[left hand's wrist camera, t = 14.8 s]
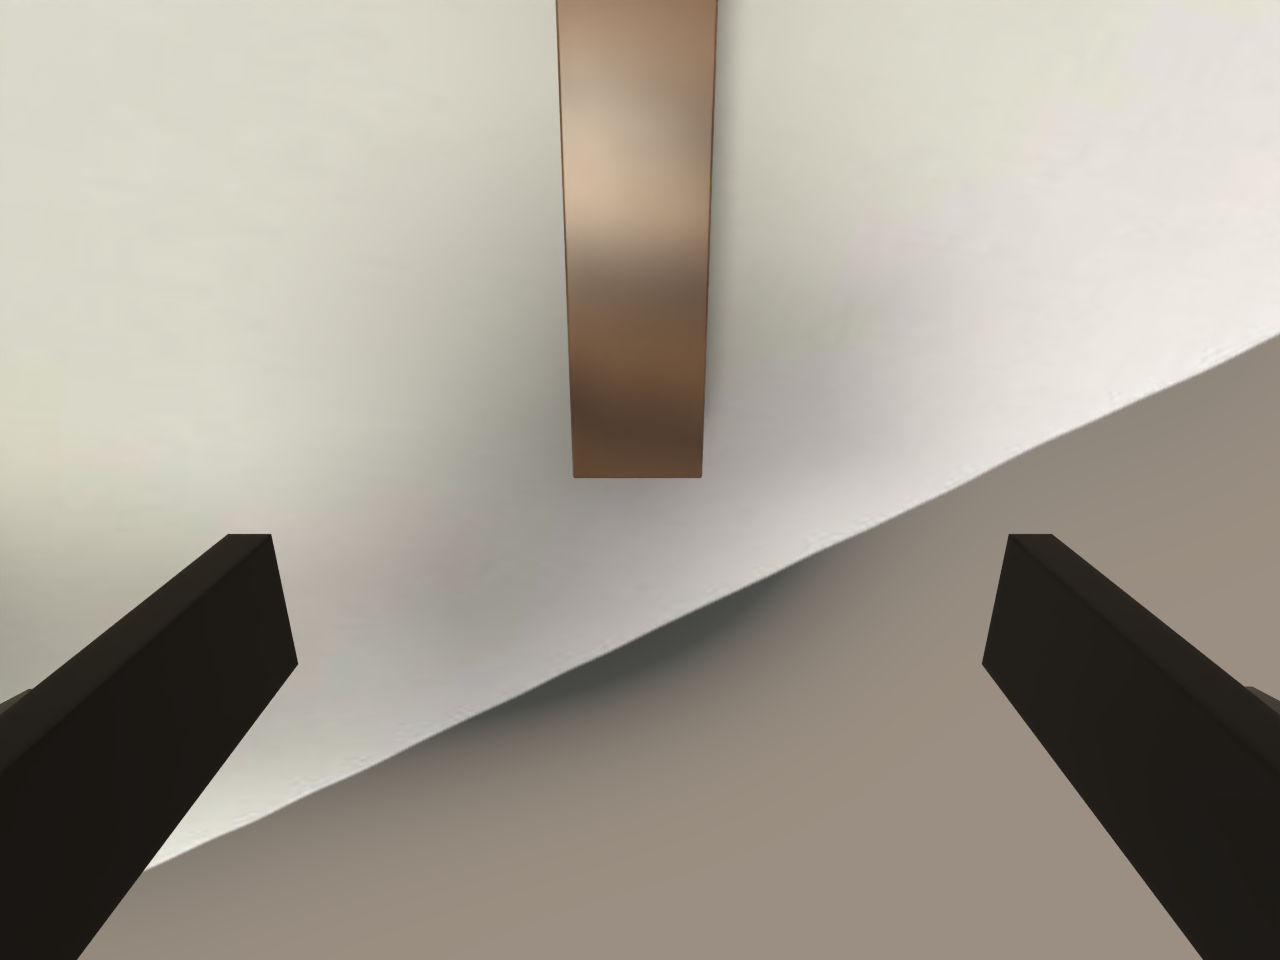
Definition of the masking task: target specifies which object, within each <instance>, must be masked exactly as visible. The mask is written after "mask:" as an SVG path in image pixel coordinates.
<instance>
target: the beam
mask: <svg viewBox="0 0 1280 960" xmlns="http://www.w3.org/2000/svg"><path fill="white" fill-rule="evenodd" d="M717 12H718V0H556V23H557V50H558V78H559V105H560V132H561V159H562V187H563V214H564V241H565V268H566V296H567V323H568V350H569V377H570V405H571V432H572V459H573V477H574V478H701V477H702V462H703V432H704V402H705V372H706V342H707V312H708V282H709V252H710V222H711V192H712V162H713V132H714V102H715V72H716V42H717Z"/></svg>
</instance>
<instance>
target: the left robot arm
mask: <svg viewBox="0 0 1280 960" xmlns="http://www.w3.org/2000/svg"><path fill="white" fill-rule="evenodd" d="M297 665H298V661H297V656H296V651H295V647H294V642H293V637H292V632H291V627H290V623H289V618H288V613H287V608H286V603H285V598H284V594H283V589H282V584H281V579H280V574H279V570H278V565H277V560H276V555H275V550H274V546H273V541H272V536H271V534H228V535H226V536H225V537H224V538H223V539H221V540H220V541H219V542H217V543H216V544H215V545H214V546H212V547H211V548H210V549H209V550H207V551H206V552H205V553H204V554H202V555H201V556H200V557H199V558H197V559H196V560H195V561H194V562H192V563H191V564H190V565H188V566H187V567H186V568H185V569H183V570H182V571H181V572H180V573H178V574H177V575H176V576H175V577H173V578H172V579H171V580H170V581H168V582H167V583H166V584H165V585H163V586H162V587H161V588H159V589H158V590H157V591H156V592H154V593H153V594H152V595H151V596H149V597H148V598H147V599H146V600H144V601H143V602H142V603H141V604H139V605H138V606H137V607H136V608H134V609H133V610H132V611H130V612H129V613H128V614H127V615H125V616H124V617H123V618H122V619H120V620H119V621H118V622H117V623H115V624H114V625H113V626H112V627H110V628H109V629H108V630H107V631H105V632H104V633H103V634H101V635H100V636H99V637H98V638H96V639H95V640H94V641H93V642H91V643H90V644H89V645H88V646H86V647H85V648H84V649H83V650H81V651H80V652H79V653H78V654H76V655H75V656H74V657H72V658H71V659H70V660H69V661H67V662H66V663H65V664H64V665H62V666H61V667H60V668H59V669H57V670H56V671H55V672H54V673H52V674H51V675H50V676H49V677H47V678H46V679H45V680H43V681H42V682H41V683H40V684H38V685H37V686H36V687H35V688H33V689H28V690H26V691H24V692H22V693H20V694H19V695H17V696H15V697H13V698H11V699H9V700H7V701H5V702H3V703H1V704H0V960H77V959H78V958H79V956H80V955H81V953H82V952H83V951H84V949H85V948H86V947H87V946H88V944H89V943H90V942H91V940H92V939H93V937H94V936H95V935H96V933H97V932H98V931H99V929H100V928H101V927H102V926H103V924H104V923H105V921H106V920H107V919H108V917H109V916H110V915H111V913H112V912H113V911H114V909H115V908H116V907H117V905H118V904H119V903H120V901H121V900H122V899H123V897H124V896H125V895H126V893H127V892H128V891H129V889H130V888H131V887H132V885H133V884H134V883H135V881H136V880H137V879H138V877H139V876H140V875H141V873H142V872H143V871H144V869H145V868H146V867H147V865H148V864H149V863H150V861H151V860H152V859H153V857H154V856H155V855H156V853H157V852H158V851H159V849H160V848H161V847H162V845H163V844H164V843H165V841H166V840H167V839H168V837H169V836H170V835H171V833H172V832H173V831H174V829H175V828H176V827H177V825H178V824H179V823H180V821H181V820H182V819H183V817H184V816H185V815H186V813H187V812H188V811H189V809H190V808H191V807H192V805H193V804H194V803H195V801H196V800H197V799H198V797H199V796H200V795H201V793H202V792H203V791H204V789H205V788H206V787H207V785H208V784H209V783H210V781H211V780H212V779H213V777H214V776H215V775H216V773H217V772H218V771H219V769H220V768H221V767H222V765H223V764H224V763H225V761H226V760H227V759H228V757H229V756H230V754H231V753H232V752H233V750H234V749H235V748H236V746H237V745H238V744H239V742H240V741H241V740H242V738H243V737H244V736H245V734H246V733H247V732H248V730H249V729H250V728H251V726H252V725H253V724H254V722H255V721H256V720H257V718H258V717H259V716H260V714H261V713H262V712H263V710H264V709H265V708H266V706H267V705H268V704H269V702H270V701H271V700H272V698H273V697H274V696H275V694H276V693H277V692H278V690H279V689H280V688H281V686H282V685H283V684H284V682H285V681H286V680H287V678H288V677H289V676H290V674H291V673H292V672H293V670H294V669H295V668H296V666H297ZM982 665H983V666H984V668H985V669H986V670H987V672H988V673H989V674H990V676H991V677H992V678H993V680H994V681H995V682H996V684H997V685H998V686H999V688H1000V689H1001V690H1002V692H1003V693H1004V694H1005V696H1006V697H1007V698H1008V700H1009V701H1010V702H1011V704H1012V705H1013V706H1014V708H1015V709H1016V710H1017V712H1018V713H1019V714H1020V716H1021V717H1022V718H1023V720H1024V721H1025V722H1026V724H1027V725H1028V726H1029V728H1030V729H1031V730H1032V732H1033V733H1034V734H1035V736H1036V737H1037V738H1038V740H1039V741H1040V742H1041V744H1042V745H1043V746H1044V748H1045V749H1046V750H1047V752H1048V753H1049V754H1050V756H1051V757H1052V759H1053V760H1054V761H1055V762H1056V764H1057V765H1058V767H1059V768H1060V769H1061V771H1062V772H1063V773H1064V774H1065V776H1066V777H1067V779H1068V780H1069V781H1070V783H1071V784H1072V785H1073V787H1074V788H1075V789H1076V791H1077V792H1078V793H1079V795H1080V796H1081V797H1082V798H1083V800H1084V801H1085V803H1086V804H1087V805H1088V807H1089V808H1090V809H1091V811H1092V812H1093V813H1094V815H1095V816H1096V817H1097V819H1098V820H1099V821H1100V823H1101V824H1102V825H1103V827H1104V828H1105V829H1106V831H1107V832H1108V833H1109V835H1110V836H1111V837H1112V839H1113V840H1114V841H1115V843H1116V844H1117V845H1118V847H1119V848H1120V849H1121V851H1122V852H1123V853H1124V855H1125V856H1126V857H1127V859H1128V860H1129V861H1130V863H1131V864H1132V865H1133V867H1134V868H1135V869H1136V871H1137V872H1138V873H1139V875H1140V876H1141V877H1142V879H1143V880H1144V881H1145V883H1146V884H1147V885H1148V887H1149V888H1150V889H1151V891H1152V892H1153V893H1154V895H1155V896H1156V897H1157V899H1158V900H1159V901H1160V903H1161V904H1162V905H1163V907H1164V908H1165V909H1166V911H1167V912H1168V913H1169V915H1170V916H1171V917H1172V919H1173V920H1174V921H1175V923H1176V924H1177V925H1178V927H1179V928H1180V929H1181V931H1182V932H1183V933H1184V935H1185V936H1186V937H1187V939H1188V940H1189V941H1190V943H1191V944H1192V945H1193V947H1194V948H1195V950H1196V951H1197V952H1198V953H1199V955H1200V956H1201V958H1202V959H1203V960H1280V701H1279V700H1277V699H1275V698H1273V697H1271V696H1269V695H1267V694H1265V693H1263V692H1261V691H1260V690H1258V689H1256V688H1254V687H1244V686H1243V685H1242V684H1240V683H1239V682H1238V681H1237V680H1235V679H1234V678H1233V677H1231V676H1230V675H1229V674H1228V673H1226V672H1225V671H1224V670H1223V669H1221V668H1220V667H1219V666H1218V665H1216V664H1215V663H1214V662H1213V661H1211V660H1210V659H1209V658H1207V657H1206V656H1205V655H1204V654H1202V653H1201V652H1200V651H1199V650H1197V649H1196V648H1195V647H1194V646H1192V645H1191V644H1190V643H1189V642H1187V641H1186V640H1185V639H1184V638H1182V637H1181V636H1180V635H1178V634H1177V633H1176V632H1175V631H1173V630H1172V629H1171V628H1170V627H1168V626H1167V625H1166V624H1165V623H1163V622H1162V621H1161V620H1160V619H1158V618H1157V617H1156V616H1155V615H1153V614H1152V613H1151V612H1150V611H1148V610H1147V609H1146V608H1144V607H1143V606H1142V605H1141V604H1139V603H1138V602H1137V601H1136V600H1134V599H1133V598H1132V597H1131V596H1129V595H1128V594H1127V593H1126V592H1124V591H1123V590H1122V589H1120V588H1119V587H1118V586H1117V585H1115V584H1114V583H1113V582H1112V581H1110V580H1109V579H1108V578H1107V577H1105V576H1104V575H1103V574H1101V573H1100V572H1099V571H1098V570H1097V569H1095V568H1094V567H1093V566H1091V565H1090V564H1089V563H1088V562H1086V561H1085V560H1084V559H1083V558H1081V557H1080V556H1079V555H1078V554H1076V553H1075V552H1074V551H1073V550H1071V549H1070V548H1069V547H1068V546H1066V545H1065V544H1064V543H1062V542H1061V541H1060V540H1059V539H1057V538H1056V537H1055V536H1054V535H1052V534H1009V536H1008V541H1007V546H1006V551H1005V555H1004V560H1003V565H1002V570H1001V574H1000V579H999V584H998V589H997V594H996V598H995V603H994V608H993V613H992V618H991V623H990V627H989V632H988V637H987V642H986V647H985V651H984V656H983V661H982Z"/></svg>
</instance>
